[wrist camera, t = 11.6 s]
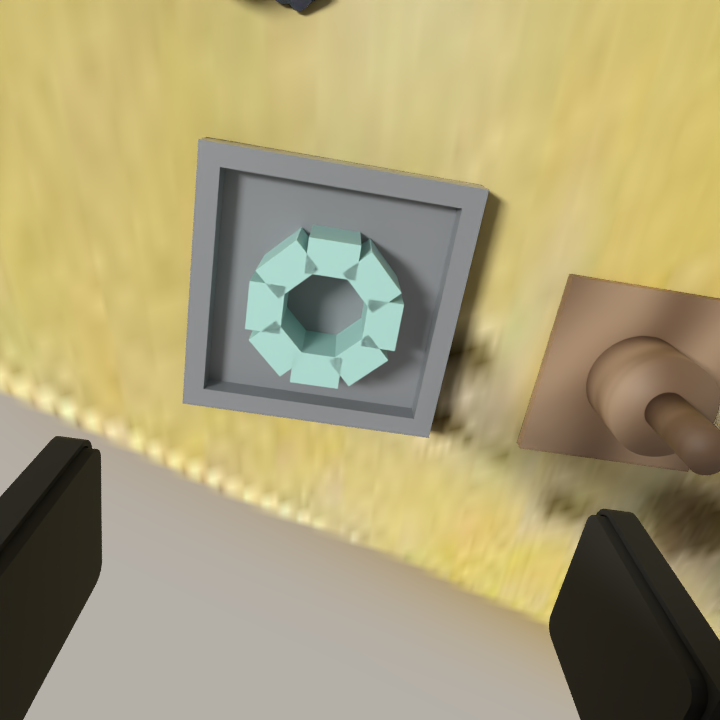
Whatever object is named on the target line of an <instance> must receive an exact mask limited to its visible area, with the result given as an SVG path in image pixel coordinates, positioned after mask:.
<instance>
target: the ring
mask: <svg viewBox="0 0 720 720" xmlns="http://www.w3.org/2000/svg"><path fill="white" fill-rule="evenodd" d="M312 274H315V275H321V276H328V277H334V278H340V279H347V280H348V281H349V282H350V284H351V285H352V286H353V288H354V289H355V290H356V292H357V293H358V294H359V296H360V297H361V298H362V300H363V301H364V305H363V310H362V316H361V318H360V319H359V320H357V321H356V322H354V323H353V324H351V325H350V326H349V327H347V328H346V329H344V330H343V331H341V332H340V333H338V334H337V335H334V334H327V333H321V332H314V331H307V330H305V328H304V327H303V326H302V325H301V323H300V322H299V321H298V320H297V319H296V317H295V316H294V315H293V314H292V312H291V311H290V310H289V309H288V307H287V302H288V294H289V291H290V290H291V289H292V288H294V287H295V286H297V285H298V284H299V283H301V282H302V281H304V280H305V279H306V278H308V277H309V276H311V275H312ZM403 308H404V303H403V299H402V295H401V289H400V285H399V282H398V278H397V275H396V274H395V272H394V271H393V270H392V268H391V267H390V265H389V264H388V263H387V261H386V260H385V258H384V257H383V256H382V254H381V253H380V251H379V250H378V249H377V247H376V246H375V244H374V243H373V242H372V240H371V239H368V240H367V241H365V242H364V243H363V244H361V234H360V232H356V231H350V230H344V229H338V228H332V227H326V226H319V225H313V226H312V229H311V232H310V236H308V235H307V233H306V232H305V231H304V229H303V228H302V227H301V228H300V229H299V230H297V231H296V232H295V233H293V234H292V235H290V236H289V237H288V238H286V239H285V240H284V241H282V242H281V243H280V244H278V245H277V246H276V247H274V248H273V249H272V250H270V251H269V252H268V253H266V254H265V255H264V256H263V258H262V260H261V262H260V263H259V265H258V267H257V269H256V270H255V272H254V274H253V276H252V278H251V279H250V282H249V292H248V303H247V313H246V323H245V329H248V330H253V331H252V333H251V335H250V338H249V341H250V342H251V343H252V345H253V346H254V347H255V348H256V349H257V350H258V352H259V353H260V354H261V355H262V356H263V358H264V359H265V360H266V361H267V362H268V363H269V365H270V366H271V367H272V368H273V369H274V370H275V372H276V373H277V374H278V375H279V376H281V375H283V374H284V373H286V372H287V371H289V370H290V369H291V368H292V370H291V377H290V382H293V383H300V384H307V385H314V386H321V387H328V388H335V389H338V383H339V377H340V376H341V377H342V379H343V380H344V381H345V382H346V384H347V385H348V386H350V385H352V384H353V383H355V382H356V381H358V380H359V379H361V378H362V377H364V376H365V375H367V374H368V373H370V372H371V371H373V370H374V369H376V368H378V367H379V366H381V365H382V364H384V363H385V362H387V361H388V355H387V350H390V351H395V347H396V342H397V337H398V332H399V327H400V323H401V318H402V313H403Z"/></svg>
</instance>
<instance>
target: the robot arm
mask: <svg viewBox="0 0 720 720" xmlns="http://www.w3.org/2000/svg"><path fill="white" fill-rule="evenodd" d="M101 528H102V526H101V454H100V451H99V450H98V449H92V445H91V443H90V441H89V440H84V439H76V438H69V437H61V436H56V437H54V438H53V439H52V440H51V441H50V442H49V443H48V444H47V446H46V447H45V448H44V449H43V450H42V451H41V452H40V453H39V454H38V455H37V457H36V458H35V459H34V460H33V461H32V462H31V463H30V464H29V466H28V467H27V468H26V469H25V470H24V471H23V472H22V473H21V474H20V475H19V477H18V478H17V479H16V480H15V481H14V482H13V483H12V484H11V485H10V487H9V488H8V489H7V490H6V491H5V492H4V493H3V495H2V496H1V497H0V720H23V719H24V717H25V715H26V713H27V711H28V709H29V708H30V706H31V704H32V702H33V700H34V698H35V696H36V695H37V692H38V691H39V689H40V687H41V685H42V683H43V681H44V679H45V678H46V676H47V674H48V672H49V670H50V669H51V667H52V665H53V663H54V661H55V659H56V657H57V655H58V654H59V652H60V650H61V648H62V646H63V644H64V643H65V641H66V639H67V637H68V635H69V633H70V631H71V630H72V628H73V626H74V624H75V622H76V620H77V618H78V617H79V615H80V613H81V611H82V609H83V607H84V606H85V604H86V602H87V600H88V598H89V596H90V594H91V593H92V591H93V589H94V587H95V585H96V583H97V581H98V578H99V575H100V571H101V565H102V531H101ZM549 631H550V636H551V639H552V642H553V644H554V648H555V650H556V653H557V656H558V659H559V661H560V664H561V667H562V670H563V672H564V675H565V678H566V681H567V683H568V686H569V689H570V691H571V694H572V697H573V700H574V703H575V706H576V708H577V711H578V714H579V717H580V719H581V720H720V640H719V639H718V637H717V636H716V634H715V633H714V631H713V630H712V628H711V627H710V625H709V624H708V622H707V621H706V619H705V618H704V616H703V615H702V613H701V612H700V610H699V609H698V608H697V606H696V605H695V603H694V602H693V600H692V599H691V597H690V596H689V594H688V593H687V591H686V590H685V588H684V587H683V585H682V584H681V582H680V581H679V579H678V578H677V576H676V575H675V573H674V572H673V570H672V569H671V567H670V566H669V564H668V563H667V561H666V560H665V558H664V557H663V555H662V554H661V552H660V551H659V549H658V548H657V547H656V545H655V544H654V542H653V541H652V539H651V538H650V536H649V535H648V533H647V532H646V530H645V529H644V527H643V526H642V524H641V523H640V521H639V520H638V518H637V517H636V516H635V515H634V514H633V513H630V512H624V511H616V510H609V509H601V510H600V511H599V512H598V513H597V514H596V515H591V516H590V517H589V518H588V520H587V522H586V524H585V527H584V530H583V532H582V535H581V537H580V540H579V543H578V545H577V548H576V550H575V553H574V556H573V558H572V561H571V564H570V566H569V569H568V571H567V574H566V577H565V579H564V582H563V584H562V587H561V590H560V592H559V595H558V598H557V600H556V603H555V605H554V608H553V611H552V613H551V616H550V621H549Z"/></svg>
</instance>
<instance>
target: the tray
mask: <svg viewBox="0 0 720 720" xmlns="http://www.w3.org/2000/svg"><path fill="white" fill-rule="evenodd" d="M488 193H489V190H488V189H487V188H485V187H484V186H482V185H478V184H472V183H467V182H461V181H455V180H449V179H444V178H438V177H432V176H427V175H421V174H415V173H409V172H404V171H398V170H392V169H387V168H381V167H375V166H370V165H364V164H358V163H352V162H347V161H341V160H335V159H330V158H324V157H318V156H312V155H307V154H301V153H295V152H290V151H284V150H278V149H272V148H267V147H261V146H255V145H250V144H244V143H238V142H232V141H227V140H221V139H215V138H210V137H206V138H202V139H199V140H198V157H197V174H196V190H195V207H194V223H193V240H192V256H191V273H190V290H189V306H188V323H187V339H186V356H185V373H184V389H183V404H191V405H198V406H205V407H212V408H219V409H226V410H233V411H240V412H248V413H255V414H262V415H269V416H276V417H283V418H290V419H298V420H305V421H312V422H319V423H326V424H333V425H340V426H348V427H355V428H362V429H369V430H376V431H383V432H390V433H398V434H405V435H412V436H419V437H426V438H429V434H430V430H431V426H432V422H433V418H434V414H435V410H436V406H437V402H438V397H439V393H440V389H441V385H442V381H443V377H444V373H445V369H446V365H447V361H448V357H449V352H450V348H451V344H452V340H453V336H454V332H455V328H456V324H457V320H458V316H459V311H460V307H461V303H462V299H463V295H464V291H465V287H466V283H467V279H468V275H469V270H470V266H471V262H472V258H473V254H474V250H475V246H476V242H477V238H478V234H479V229H480V225H481V221H482V217H483V213H484V209H485V205H486V201H487V197H488ZM313 225H319V226H326V227H332V228H338V229H344V230H350V231H356V232H360V234H361V244H363V243H364V242H365V241H367V240H368V239H371V240H372V242H373V243H374V244H375V246H376V247H377V249H378V250H379V251H380V253H381V254H382V256H383V257H384V258H385V260H386V261H387V263H388V264H389V265H390V267H391V268H392V270H393V271H394V272H395V274H396V275H397V278H398V282H399V285H400V289H401V295H402V299H403V303H404V308H403V313H402V318H401V323H400V327H399V332H398V337H397V342H396V347H395V351H390V350H387V355H388V361H387V362H385V363H384V364H382V365H381V366H379V367H378V368H376V369H374V370H373V371H371V372H370V373H368V374H367V375H365V376H364V377H362V378H361V379H359V380H358V381H356V382H355V383H353V384H352V385H350V386H348V385H347V384H346V382H345V381H344V380H343V379H342V377H341V376H340V377H339V383H338V389H335V388H328V387H321V386H314V385H307V384H300V383H293V382H290V377H291V370H292V368H291V369H290V370H289V371H287V372H286V373H284V374H283V375H281V376H279V375H278V374H277V373H276V372H275V370H274V369H273V368H272V367H271V366H270V365H269V363H268V362H267V361H266V360H265V359H264V358H263V356H262V355H261V354H260V353H259V352H258V350H257V349H256V348H255V347H254V346H253V345H252V343H251V342H250V341H249V338H250V335H251V333H252V331H253V330H248V329H245V323H246V313H247V303H248V292H249V282H250V279H251V278H252V276H253V274H254V272H255V270H256V269H257V267H258V265H259V263H260V262H261V260H262V258H263V256H264V255H265V254H266V253H268V252H269V251H270V250H272V249H273V248H274V247H276V246H277V245H278V244H280V243H281V242H282V241H284V240H285V239H286V238H288V237H289V236H290V235H292V234H293V233H295V232H296V231H297V230H299V229H300V228H301V227H302V228H303V229H304V231H305V232H306V233H307V235H308V236H310V232H311V229H312V226H313ZM363 305H364V301H363V300H362V298H361V297H360V296H359V294H358V293H357V292H356V290H355V289H354V288H353V286H352V285H351V284H350V282H349V281H348V280H347V279H340V278H334V277H328V276H321V275H315V274H312V275H311V276H309V277H308V278H306V279H305V280H304V281H302V282H301V283H299V284H298V285H297V286H295V287H294V288H292V289H291V290H290V291H289V294H288V302H287V307H288V309H289V310H290V311H291V312H292V314H293V315H294V316H295V317H296V319H297V320H298V321H299V322H300V323H301V325H302V326H303V327H304V328H305V330H307V331H314V332H321V333H327V334H334V335H337V334H338V333H340V332H341V331H343V330H344V329H346V328H347V327H349V326H350V325H351V324H353V323H354V322H356V321H357V320H359V319H360V318H361V316H362V310H363Z"/></svg>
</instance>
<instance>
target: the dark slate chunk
mask: <svg viewBox="0 0 720 720" xmlns="http://www.w3.org/2000/svg"><path fill="white" fill-rule="evenodd" d="M276 1H277V2H279V3H281V4H290V6H291V7H292V8H293V9H294V10H296V11H302V10H304V9H305V8H306V7H307V6H308V5H309V4H310V3H312V2H313V1H315V0H276Z"/></svg>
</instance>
